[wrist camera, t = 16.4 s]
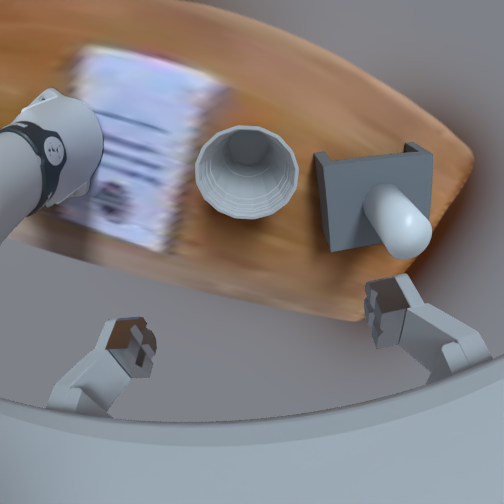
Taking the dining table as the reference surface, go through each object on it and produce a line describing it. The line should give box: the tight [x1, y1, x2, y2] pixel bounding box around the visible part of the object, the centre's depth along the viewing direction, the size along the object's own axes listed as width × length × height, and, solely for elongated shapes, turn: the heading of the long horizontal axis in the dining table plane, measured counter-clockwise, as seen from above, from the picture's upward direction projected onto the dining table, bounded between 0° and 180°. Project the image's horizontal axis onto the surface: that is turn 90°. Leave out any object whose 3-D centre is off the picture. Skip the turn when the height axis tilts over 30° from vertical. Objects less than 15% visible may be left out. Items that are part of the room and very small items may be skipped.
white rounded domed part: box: [363, 183, 432, 260], centre depth 35 cm, size 6×6×9 cm
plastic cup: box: [195, 126, 299, 219], centre depth 36 cm, size 11×11×12 cm
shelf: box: [314, 142, 433, 252], centre depth 41 cm, size 16×13×6 cm
